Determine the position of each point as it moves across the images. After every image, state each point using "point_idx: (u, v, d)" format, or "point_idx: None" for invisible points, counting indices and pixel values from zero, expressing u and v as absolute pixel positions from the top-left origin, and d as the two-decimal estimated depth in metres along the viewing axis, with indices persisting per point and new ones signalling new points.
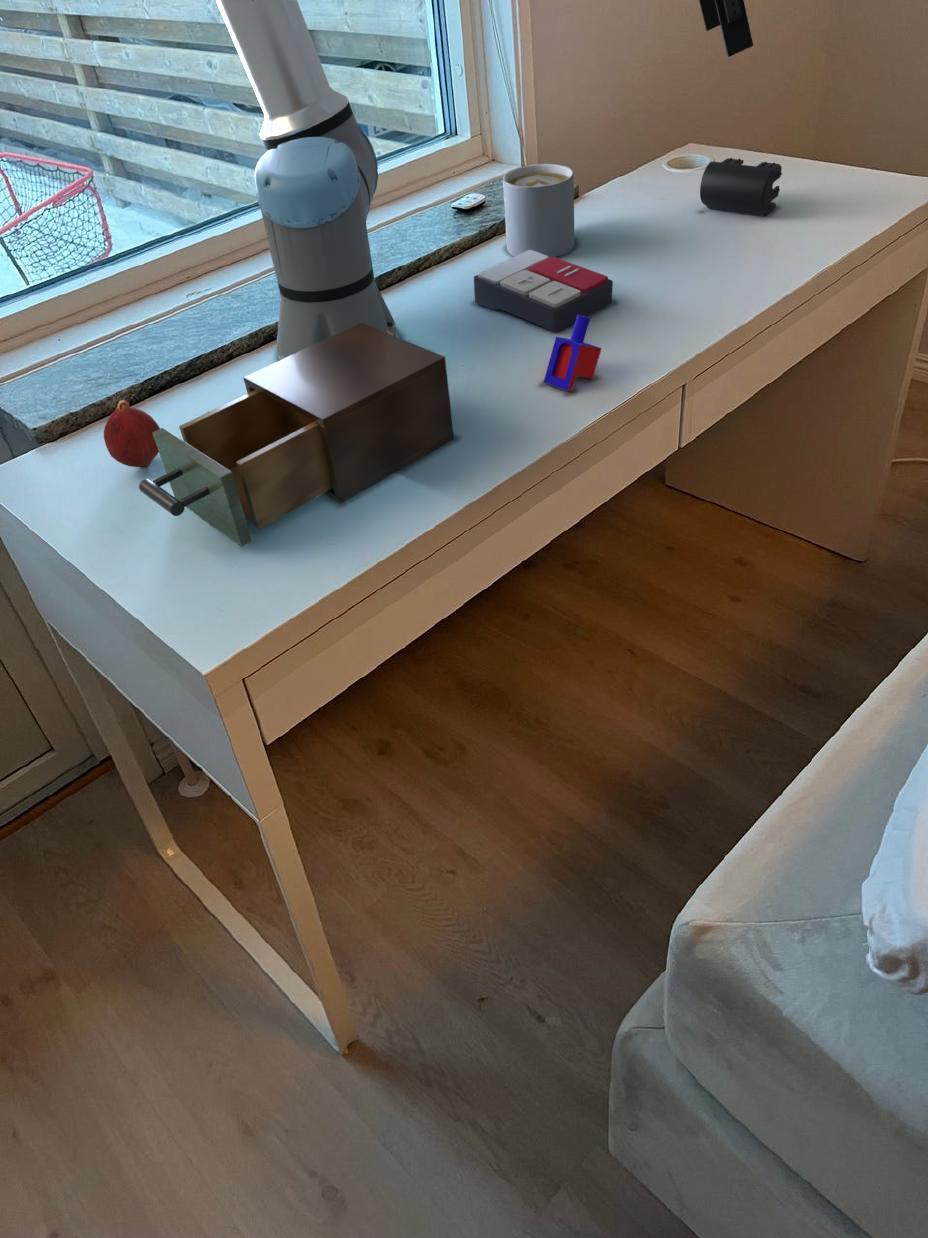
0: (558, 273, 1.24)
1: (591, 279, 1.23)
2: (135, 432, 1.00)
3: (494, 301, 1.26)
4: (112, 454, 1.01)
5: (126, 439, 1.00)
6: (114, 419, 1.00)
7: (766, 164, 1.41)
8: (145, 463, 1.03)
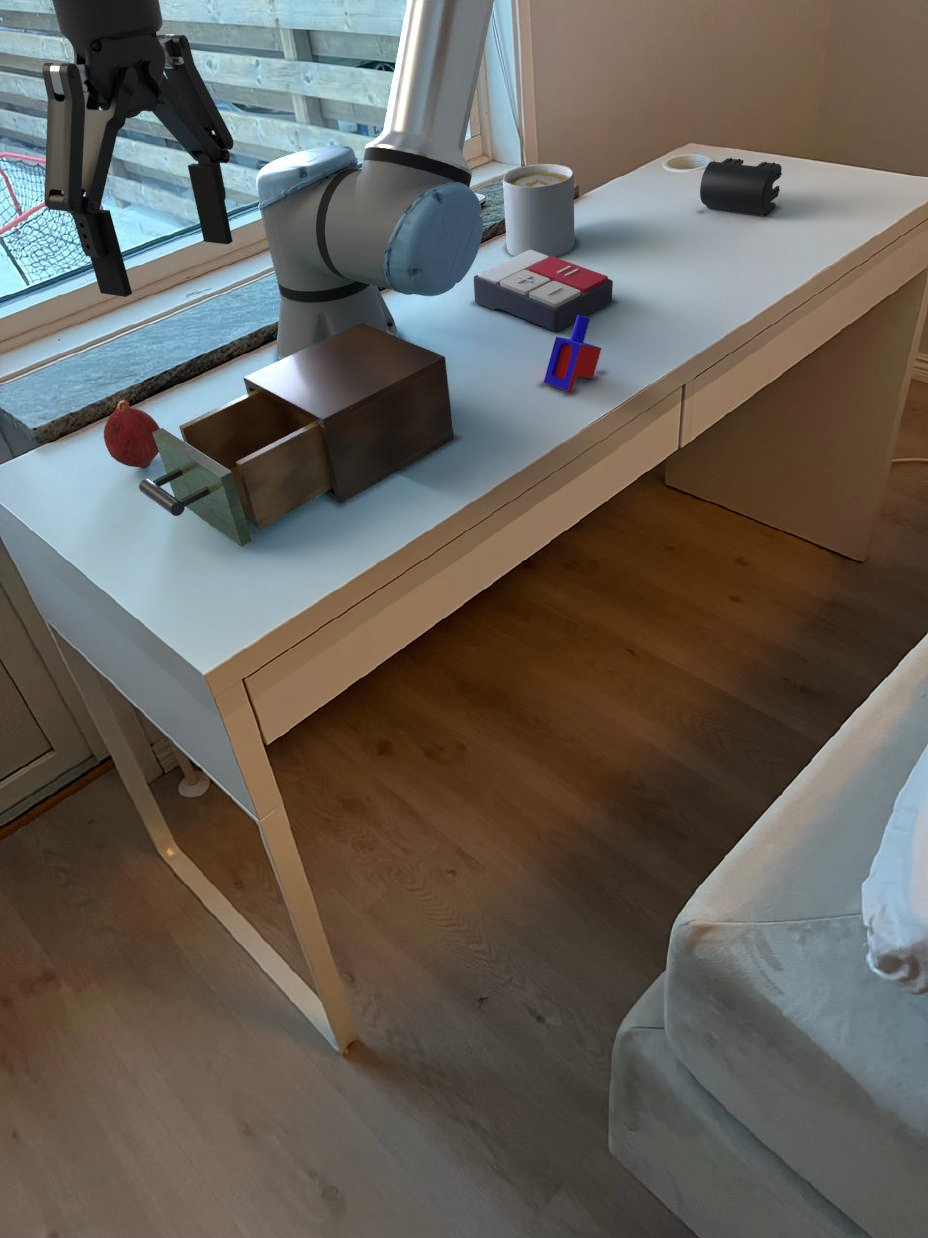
0: (558, 273, 1.24)
1: (591, 279, 1.23)
2: (135, 432, 1.00)
3: (494, 301, 1.26)
4: (112, 454, 1.01)
5: (126, 439, 1.00)
6: (114, 419, 1.00)
7: (766, 164, 1.41)
8: (145, 463, 1.03)
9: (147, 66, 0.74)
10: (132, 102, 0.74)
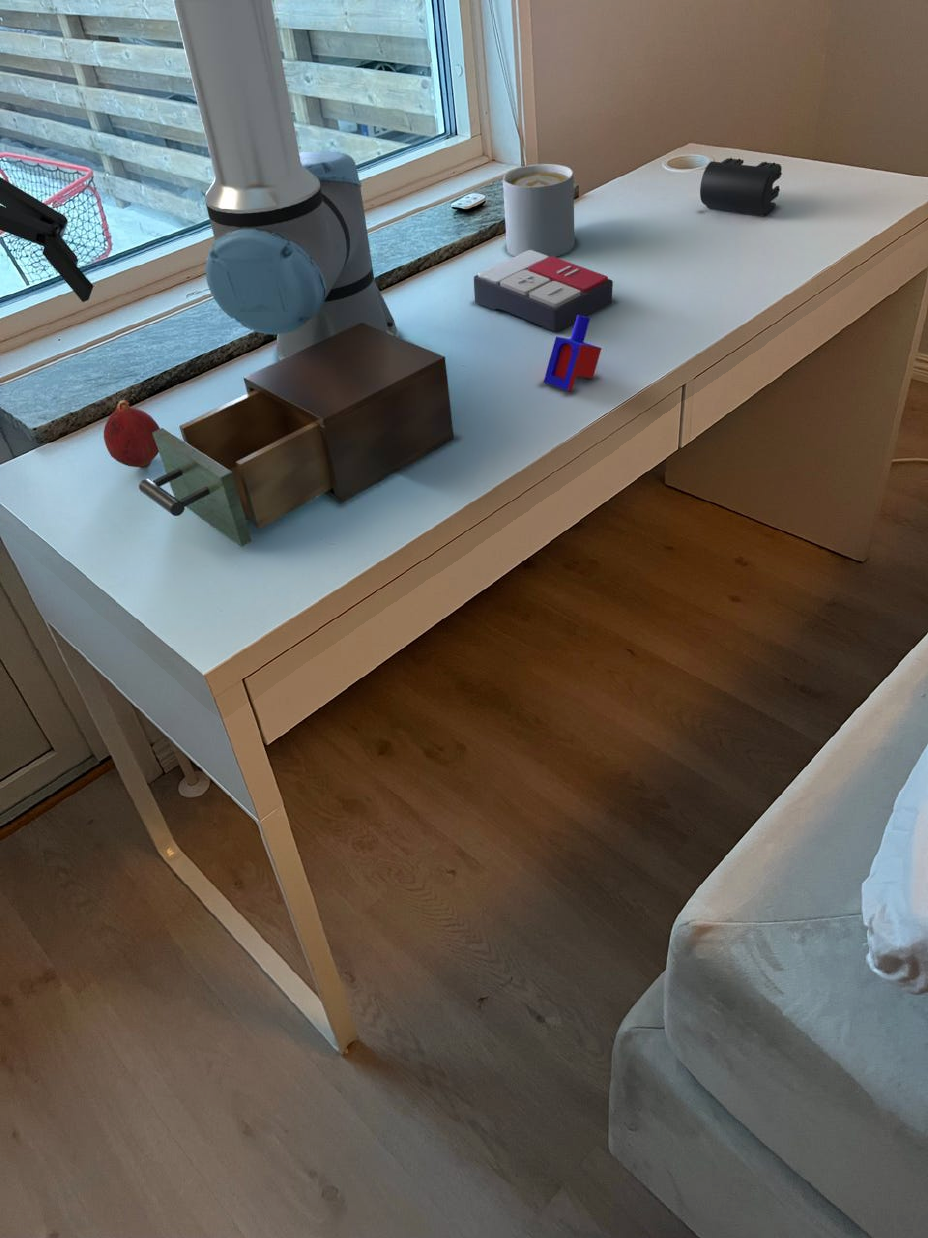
0: (558, 273, 1.24)
1: (591, 279, 1.23)
2: (135, 432, 1.00)
3: (494, 301, 1.26)
4: (112, 454, 1.01)
5: (126, 439, 1.00)
6: (114, 419, 1.00)
7: (766, 164, 1.41)
8: (145, 463, 1.03)
9: None
10: None
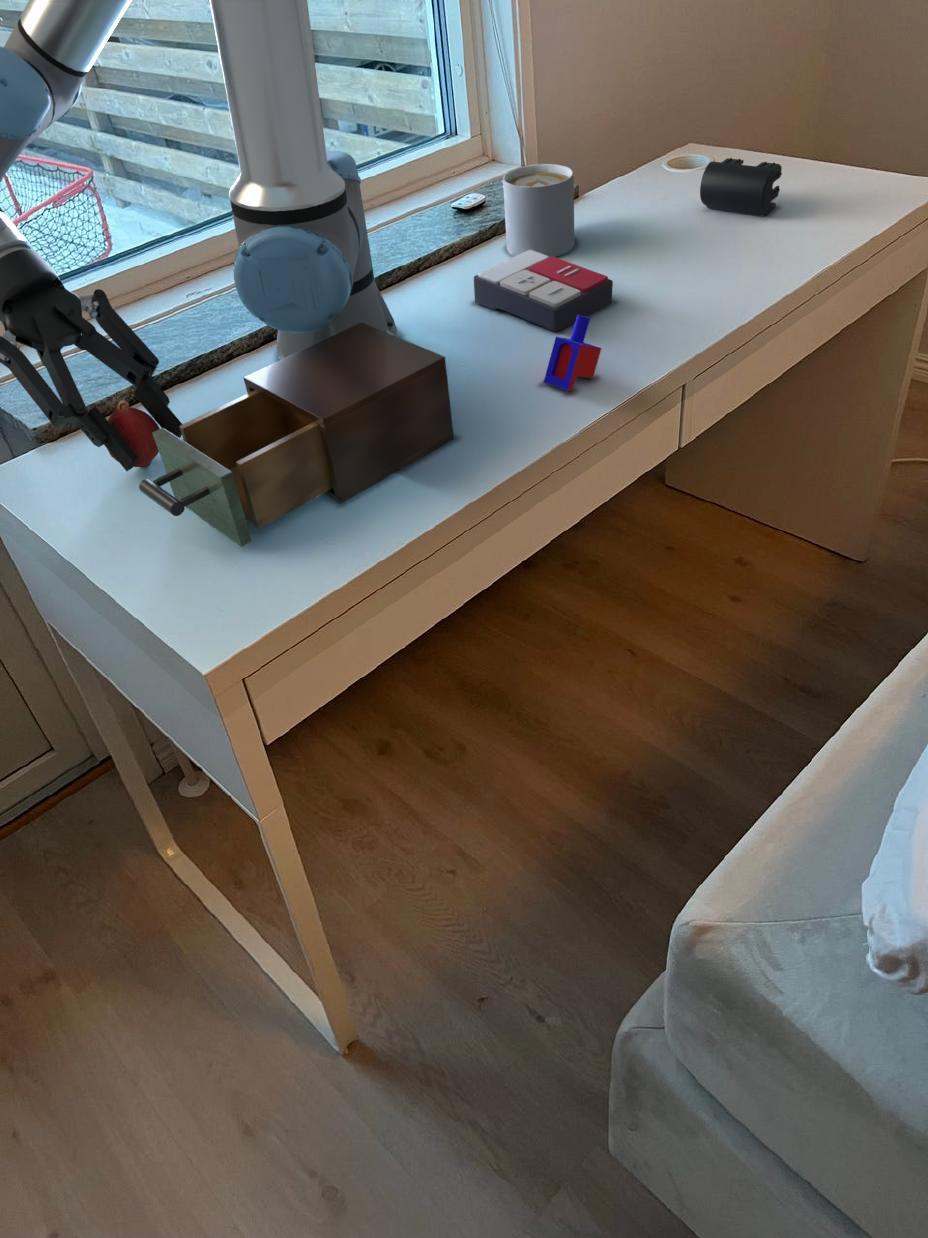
0: (558, 273, 1.24)
1: (591, 279, 1.23)
2: (135, 432, 1.00)
3: (494, 301, 1.26)
4: None
5: (126, 439, 1.00)
6: (114, 419, 1.00)
7: (766, 164, 1.41)
8: (145, 463, 1.03)
9: (54, 304, 0.98)
10: (53, 334, 0.98)
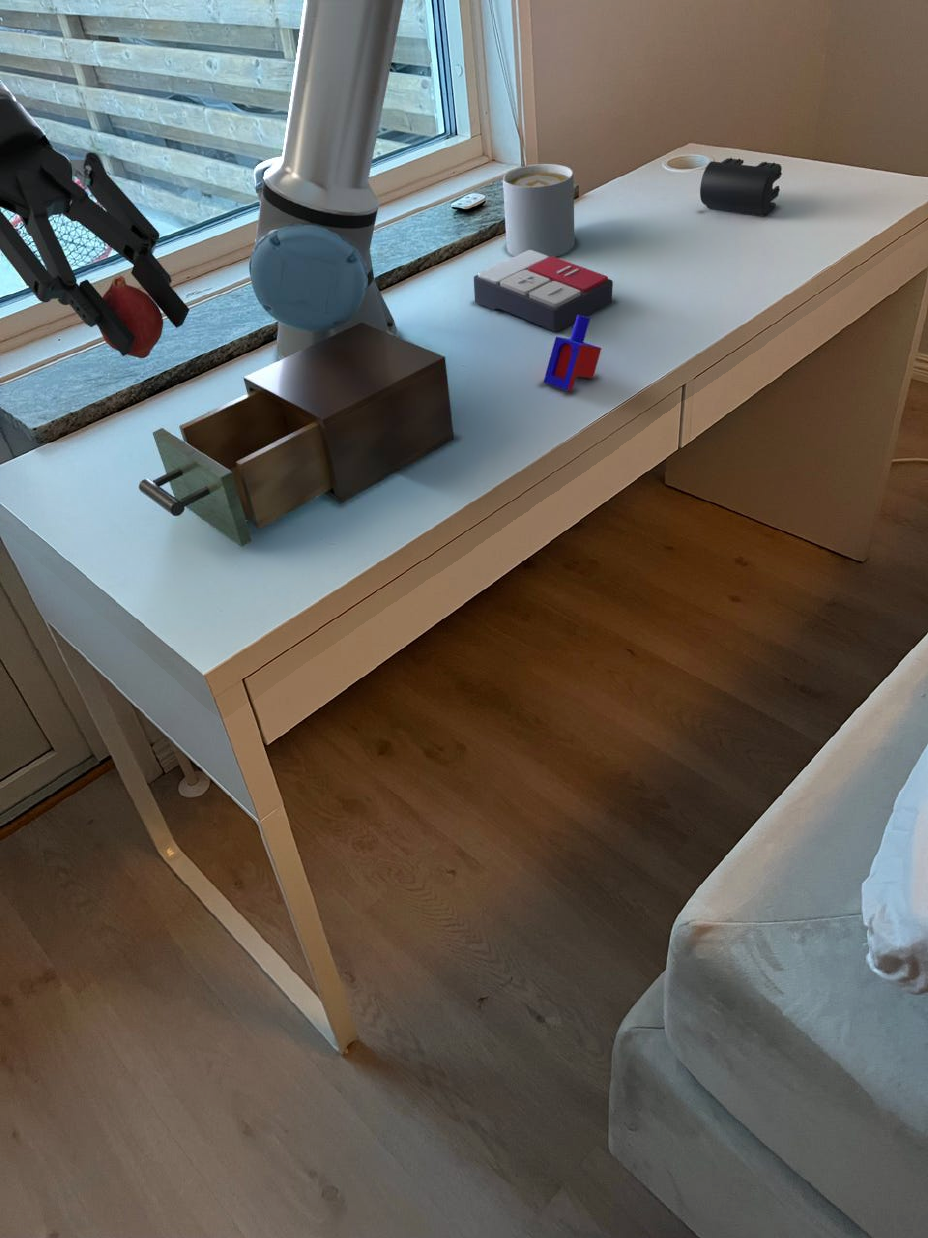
0: (558, 273, 1.24)
1: (591, 279, 1.23)
2: (133, 311, 0.88)
3: (494, 301, 1.26)
4: (106, 339, 0.90)
5: (122, 319, 0.88)
6: (108, 297, 0.88)
7: (766, 164, 1.41)
8: (144, 350, 0.91)
9: (41, 163, 0.86)
10: (40, 197, 0.86)
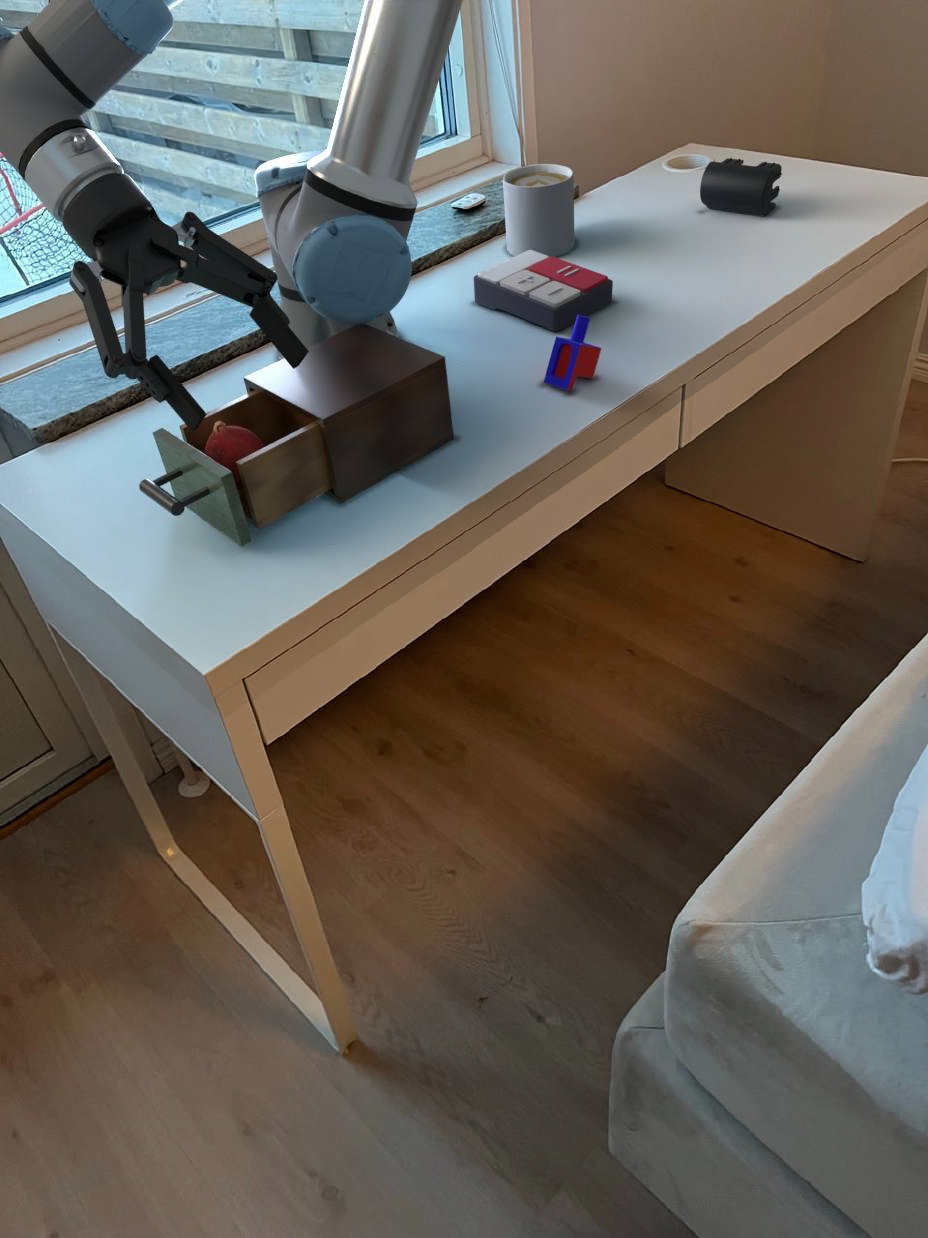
0: (558, 273, 1.24)
1: (591, 279, 1.23)
2: (240, 454, 0.90)
3: (494, 301, 1.26)
4: None
5: (232, 463, 0.90)
6: (214, 444, 0.90)
7: (766, 164, 1.41)
8: None
9: (151, 238, 0.85)
10: (150, 271, 0.85)
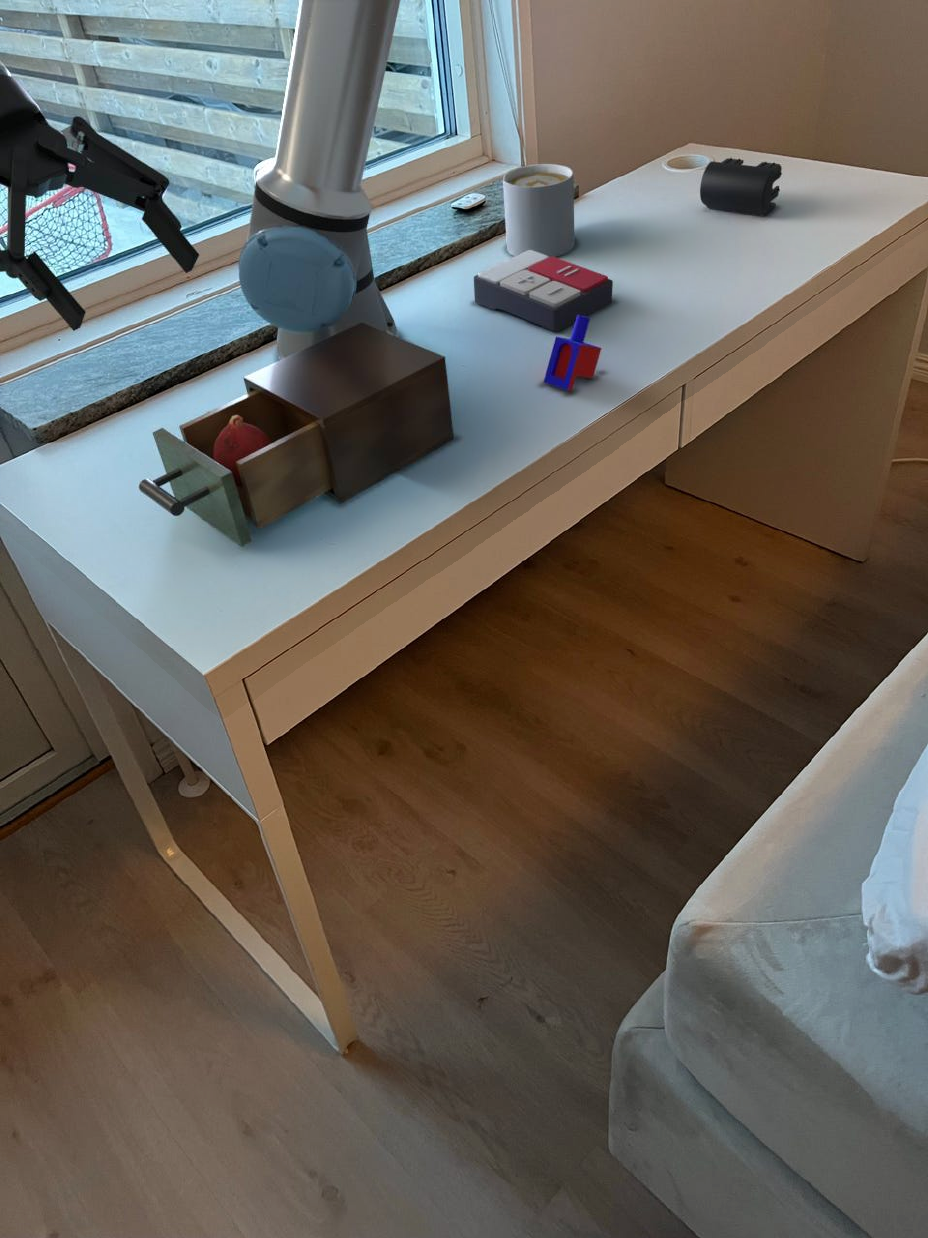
0: (558, 273, 1.24)
1: (591, 279, 1.23)
2: (252, 449, 0.91)
3: (494, 301, 1.26)
4: None
5: (242, 457, 0.91)
6: (227, 436, 0.91)
7: (766, 164, 1.41)
8: None
9: (37, 141, 0.87)
10: (36, 173, 0.87)
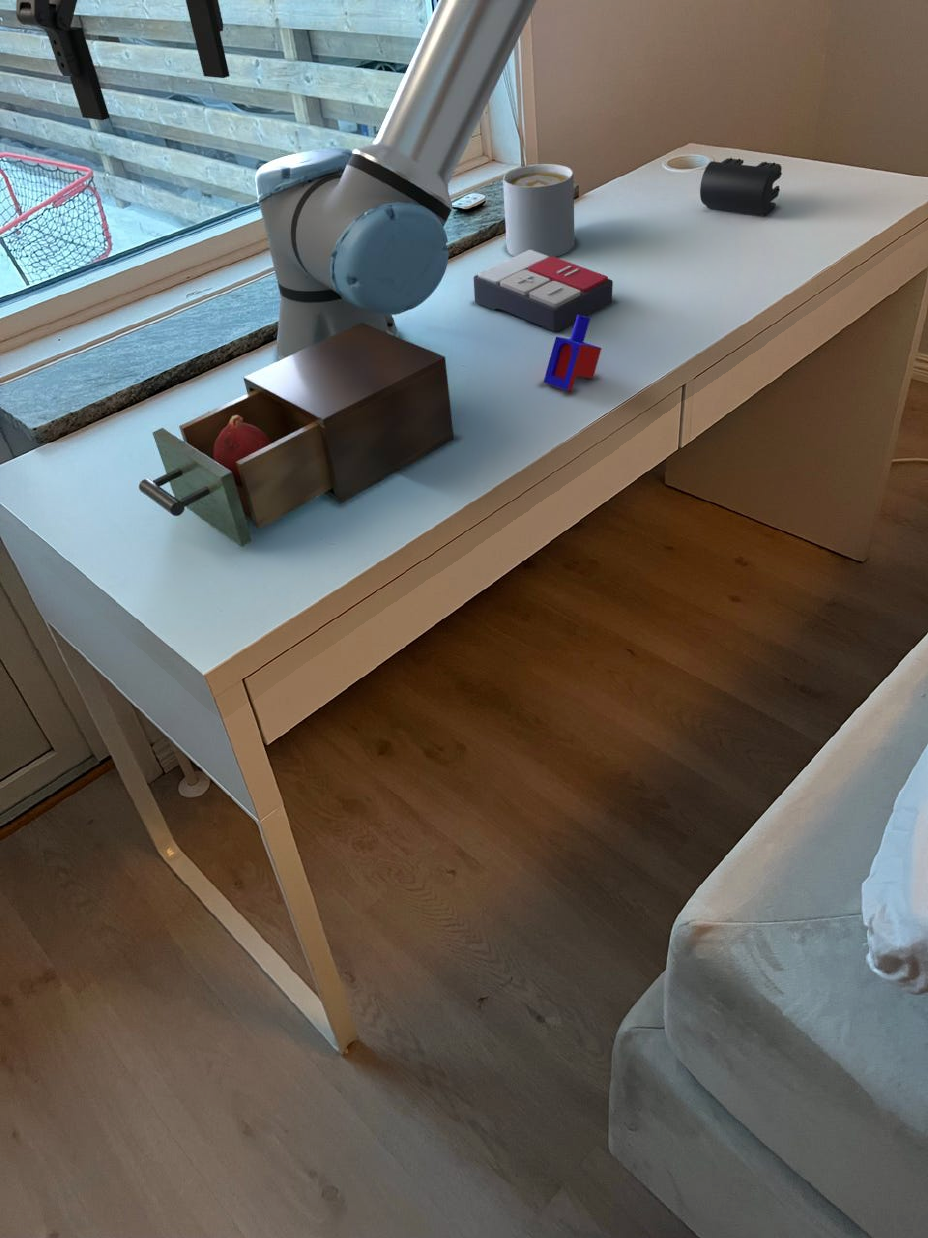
0: (558, 273, 1.24)
1: (591, 279, 1.23)
2: (252, 449, 0.91)
3: (494, 301, 1.26)
4: None
5: (242, 457, 0.91)
6: (227, 436, 0.91)
7: (766, 164, 1.41)
8: None
9: None
10: None
